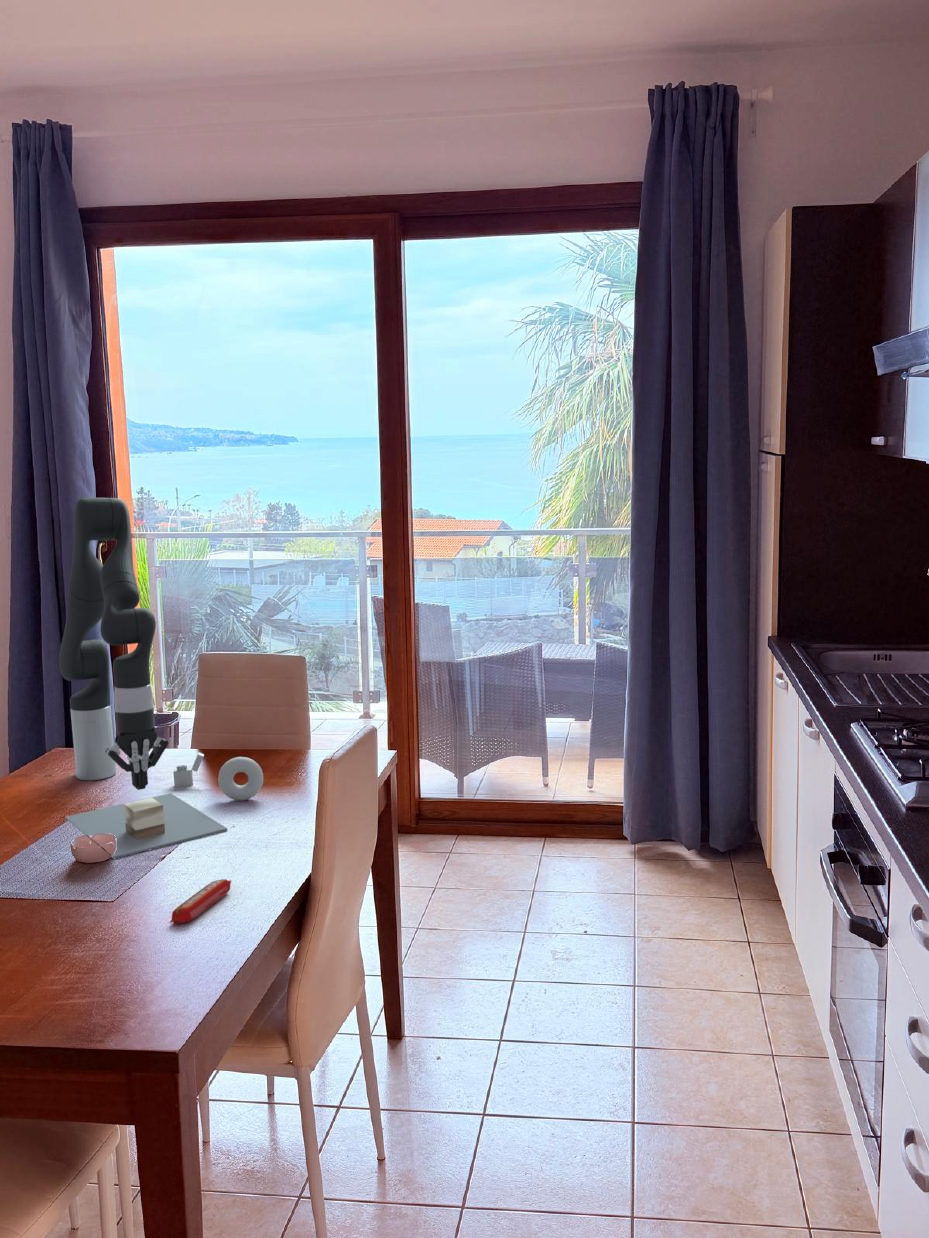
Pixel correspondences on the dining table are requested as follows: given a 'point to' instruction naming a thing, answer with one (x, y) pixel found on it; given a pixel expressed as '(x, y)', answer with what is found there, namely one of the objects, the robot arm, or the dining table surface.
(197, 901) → the packaged sausage
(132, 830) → the block
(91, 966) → the dining table surface
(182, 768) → the lighter
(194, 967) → the dining table surface
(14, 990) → the dining table surface
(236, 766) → the donut
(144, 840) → the mat
